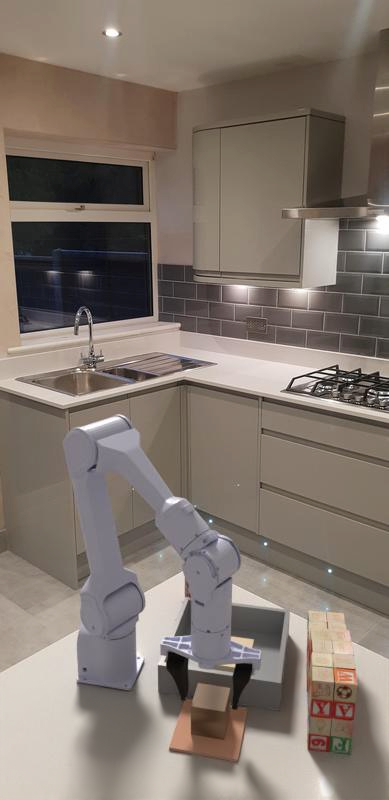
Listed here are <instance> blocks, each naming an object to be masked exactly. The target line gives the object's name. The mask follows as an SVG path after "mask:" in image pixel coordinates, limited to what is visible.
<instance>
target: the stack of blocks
mask: <svg viewBox="0 0 389 800" xmlns="http://www.w3.org/2000/svg"><path fill="white" fill-rule="evenodd" d="M306 626H307V627H306V630H307V631H306V632H307V635H306V669H305V670H306V692H307V693H306V695H307V696H306V697H307V698H306V699H307V721H306V722H307V724H306V725H307V728H306V729H307V734H306V737H307V738H306V739H307V745H306V746H307V747H306V748H307V750H308V751H315V752H324V753H334V754H342V755H347V756H348V755H351V754H352V745H353V731H354V721H355V715H356V708H357V707H356V706H357V704H356V702H357V697H358V696H357V695H358V694H357V693H358V686H359V684H358V679H357V668H356V662H355V653H354V652H355V651H354V648H353V647H354V646H353V643H352V637H351V631H350V630H348V628H347V624H346V618H345V613H343V612H335V611H334V612H331V611H320V610H319V611H318V610H317V611H316V610H307V624H306Z"/></svg>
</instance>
